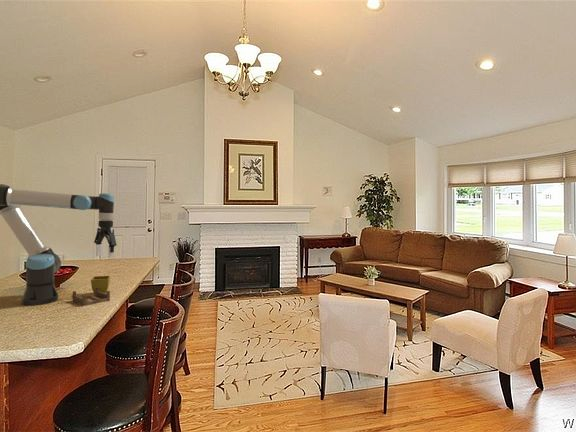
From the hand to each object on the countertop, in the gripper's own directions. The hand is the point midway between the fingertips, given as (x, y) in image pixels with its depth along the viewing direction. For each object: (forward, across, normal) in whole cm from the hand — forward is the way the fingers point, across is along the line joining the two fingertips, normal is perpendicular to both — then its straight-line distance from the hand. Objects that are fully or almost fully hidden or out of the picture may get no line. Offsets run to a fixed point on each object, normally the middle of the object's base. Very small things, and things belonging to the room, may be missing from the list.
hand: (104, 256), depth 199 cm
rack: (+20, -16, +14) cm, 29 cm away
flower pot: (+20, -4, +4) cm, 21 cm away
